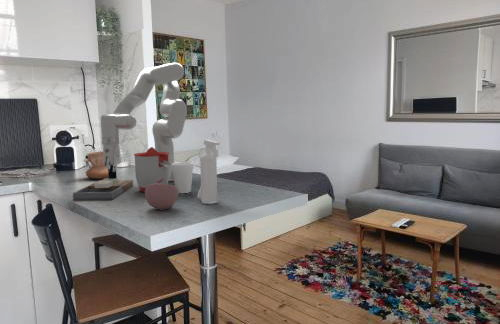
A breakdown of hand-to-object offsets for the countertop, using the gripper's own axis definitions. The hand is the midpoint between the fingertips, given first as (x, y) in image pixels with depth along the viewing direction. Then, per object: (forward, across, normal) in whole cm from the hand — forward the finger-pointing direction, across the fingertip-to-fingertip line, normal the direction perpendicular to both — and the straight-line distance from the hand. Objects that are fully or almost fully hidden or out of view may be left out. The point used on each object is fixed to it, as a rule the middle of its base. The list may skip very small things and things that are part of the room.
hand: (112, 179), depth 178 cm
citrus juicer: (+4, -6, -21) cm, 22 cm away
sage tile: (+1, -4, 0) cm, 5 cm away
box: (+4, -17, 0) cm, 17 cm away
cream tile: (+1, -10, 0) cm, 11 cm away
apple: (+4, -38, -32) cm, 50 cm away
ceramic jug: (+4, +27, +16) cm, 32 cm away
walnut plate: (+4, -3, 0) cm, 5 cm away
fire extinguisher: (+4, -28, -48) cm, 56 cm away
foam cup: (+4, -10, -35) cm, 37 cm away
